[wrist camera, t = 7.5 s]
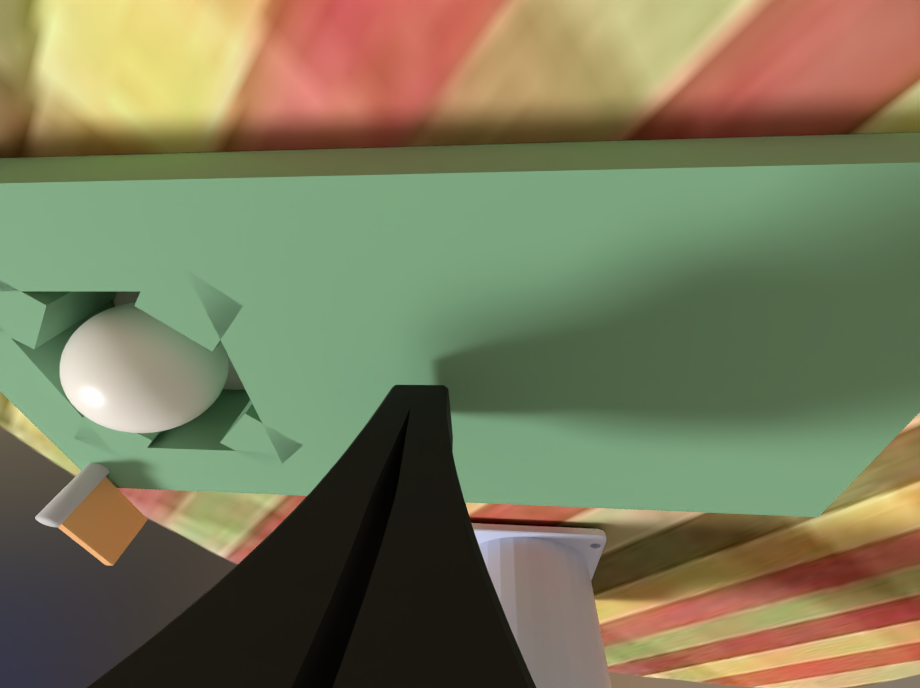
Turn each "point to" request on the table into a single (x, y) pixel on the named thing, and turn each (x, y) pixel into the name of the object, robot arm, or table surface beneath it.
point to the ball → (139, 372)
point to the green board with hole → (486, 314)
